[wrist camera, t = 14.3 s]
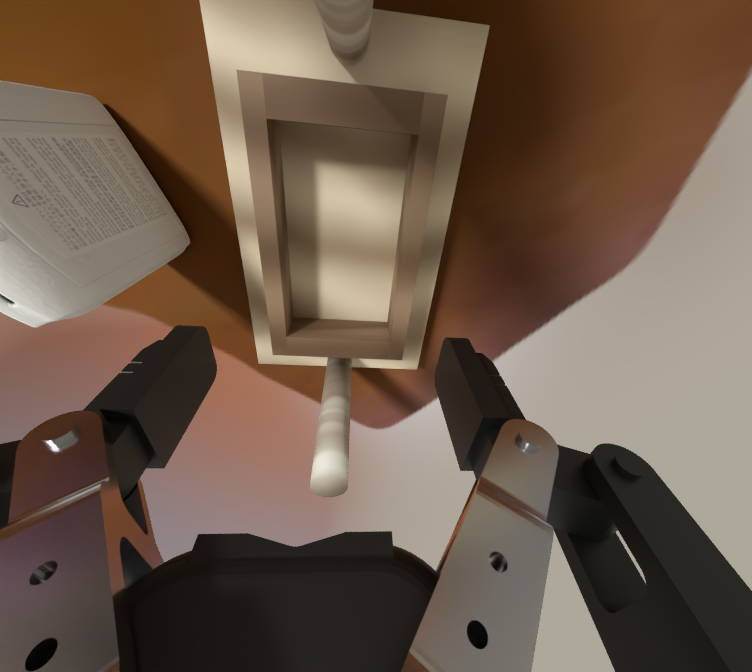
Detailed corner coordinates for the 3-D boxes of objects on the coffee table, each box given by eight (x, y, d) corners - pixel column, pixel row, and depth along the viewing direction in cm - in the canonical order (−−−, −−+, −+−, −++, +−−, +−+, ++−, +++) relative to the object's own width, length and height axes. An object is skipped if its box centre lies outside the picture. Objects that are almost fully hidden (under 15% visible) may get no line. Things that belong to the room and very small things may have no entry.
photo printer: (37, 108, 18) (-368, 76, 8) (96, 81, 18) (-261, 9, 8) (155, 262, 24) (3, 359, 14) (203, 245, 23) (81, 333, 13)
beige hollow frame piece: (209, -5, 16) (-179, -364, 4) (480, 33, 17) (723, -169, 6) (263, 353, 29) (200, 497, 18) (414, 359, 31) (448, 497, 19)
